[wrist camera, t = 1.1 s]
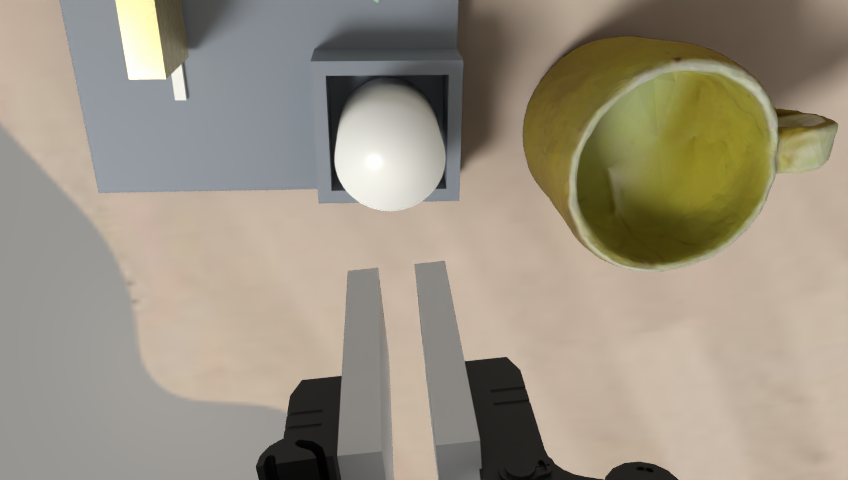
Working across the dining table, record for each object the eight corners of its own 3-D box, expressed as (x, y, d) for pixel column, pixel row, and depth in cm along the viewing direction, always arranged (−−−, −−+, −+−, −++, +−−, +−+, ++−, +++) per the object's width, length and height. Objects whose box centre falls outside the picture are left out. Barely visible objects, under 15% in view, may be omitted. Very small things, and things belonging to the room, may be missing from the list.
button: (336, 78, 32) (331, 106, 28) (437, 77, 32) (446, 105, 28) (341, 172, 34) (337, 212, 30) (435, 171, 34) (444, 209, 30)
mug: (484, 243, 37) (583, 284, 27) (499, 33, 35) (609, -1, 26) (690, 247, 40) (841, 284, 31) (711, 57, 39) (876, 35, 29)
